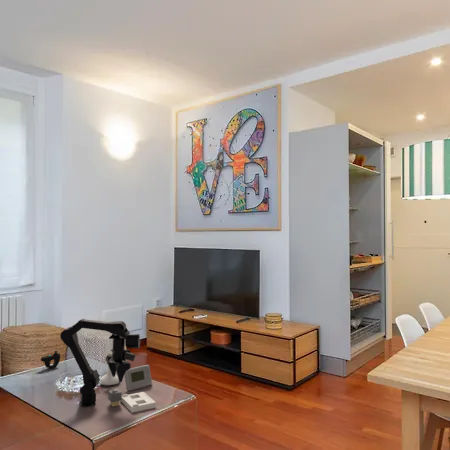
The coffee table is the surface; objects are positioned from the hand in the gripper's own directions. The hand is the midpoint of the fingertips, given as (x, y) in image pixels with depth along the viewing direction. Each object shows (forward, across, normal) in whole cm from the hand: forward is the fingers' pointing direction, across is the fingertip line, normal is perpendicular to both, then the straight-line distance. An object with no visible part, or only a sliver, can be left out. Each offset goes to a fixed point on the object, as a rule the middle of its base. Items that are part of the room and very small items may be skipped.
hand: (117, 379), depth 207 cm
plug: (+12, -1, +1) cm, 12 cm away
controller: (+13, +75, +14) cm, 78 cm away
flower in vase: (+12, +30, -8) cm, 33 cm away
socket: (+12, -6, -9) cm, 16 cm away
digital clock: (+12, +16, -19) cm, 28 cm away
